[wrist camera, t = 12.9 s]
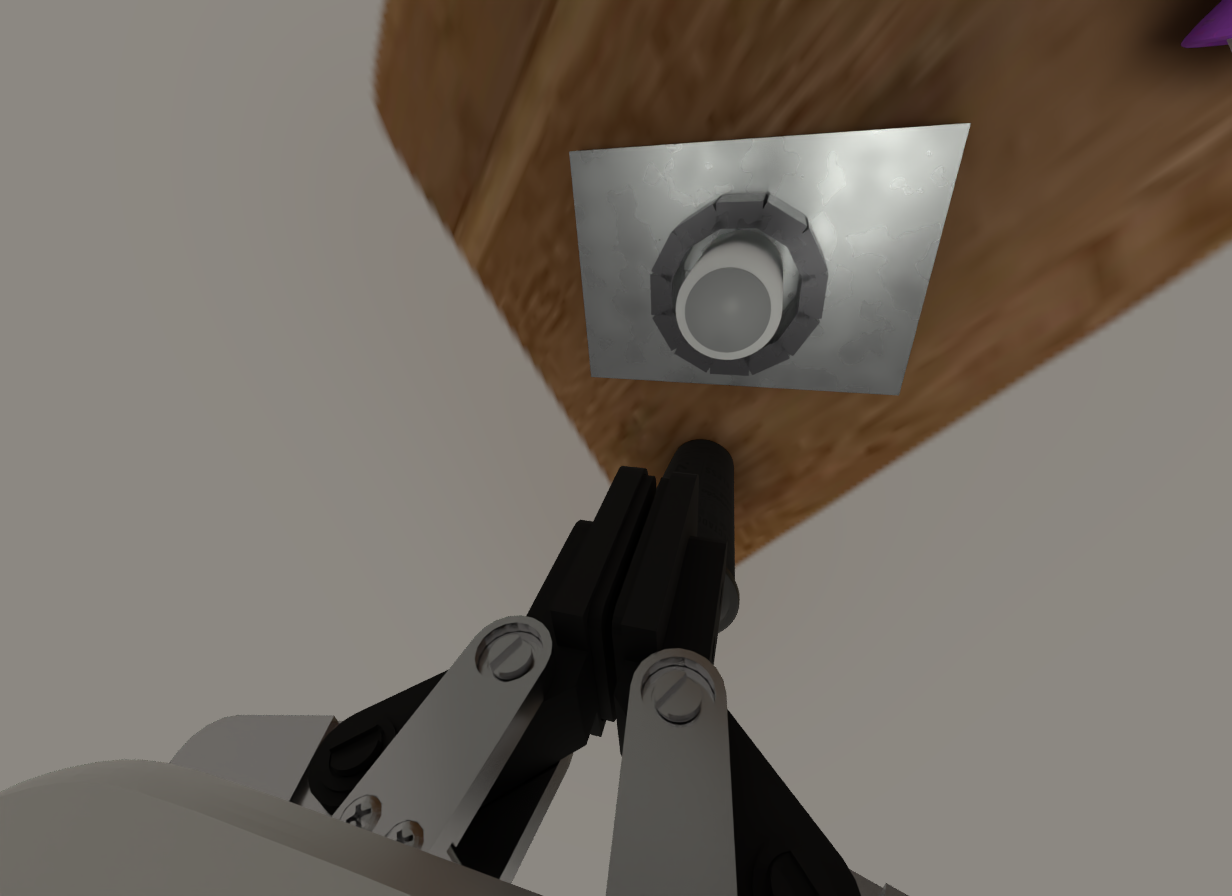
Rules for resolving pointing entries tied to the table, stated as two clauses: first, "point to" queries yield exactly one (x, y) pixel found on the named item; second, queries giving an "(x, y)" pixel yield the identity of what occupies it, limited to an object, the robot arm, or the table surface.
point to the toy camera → (1212, 28)
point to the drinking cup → (713, 507)
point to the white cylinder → (732, 296)
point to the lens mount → (797, 225)
